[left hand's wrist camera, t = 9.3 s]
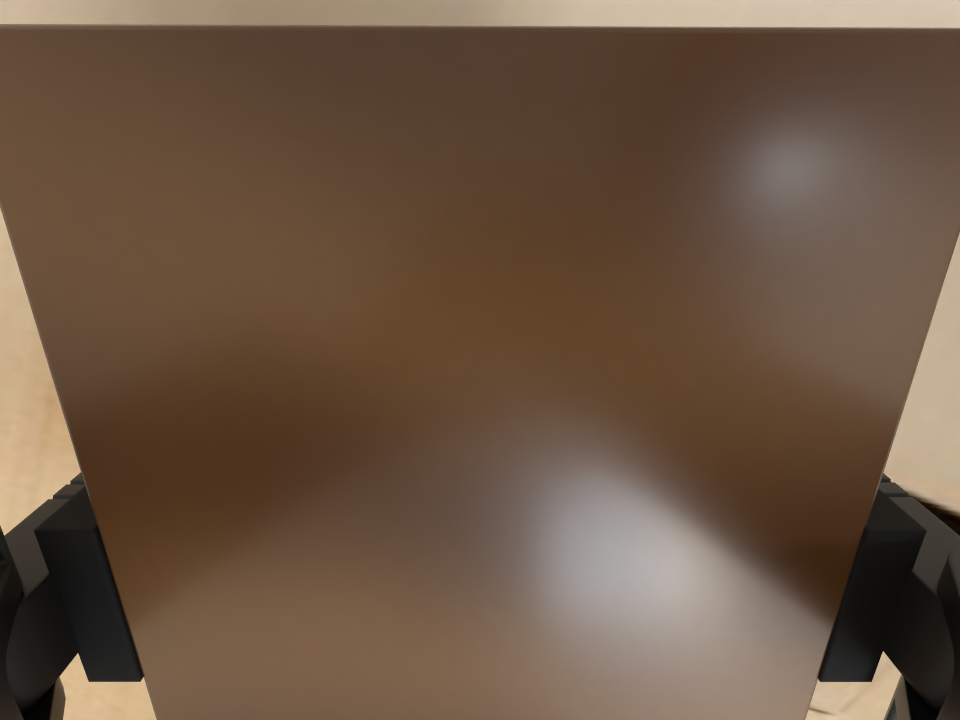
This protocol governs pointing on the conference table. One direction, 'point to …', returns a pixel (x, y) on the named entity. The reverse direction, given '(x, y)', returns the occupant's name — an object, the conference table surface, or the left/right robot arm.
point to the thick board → (481, 349)
